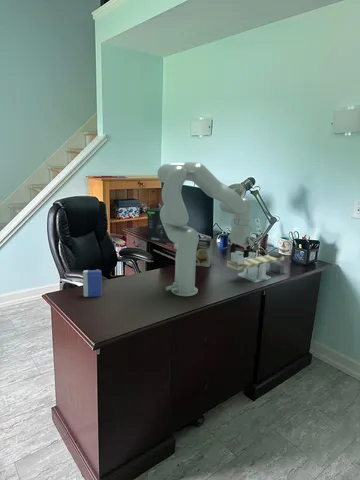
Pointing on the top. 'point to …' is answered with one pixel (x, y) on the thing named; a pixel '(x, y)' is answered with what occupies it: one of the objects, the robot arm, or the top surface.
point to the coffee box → (203, 252)
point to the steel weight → (237, 257)
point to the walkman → (92, 283)
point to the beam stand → (261, 271)
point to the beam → (257, 261)
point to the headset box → (156, 227)
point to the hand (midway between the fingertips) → (239, 254)
